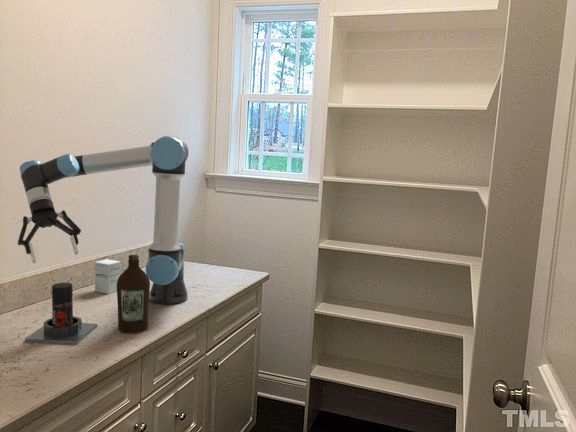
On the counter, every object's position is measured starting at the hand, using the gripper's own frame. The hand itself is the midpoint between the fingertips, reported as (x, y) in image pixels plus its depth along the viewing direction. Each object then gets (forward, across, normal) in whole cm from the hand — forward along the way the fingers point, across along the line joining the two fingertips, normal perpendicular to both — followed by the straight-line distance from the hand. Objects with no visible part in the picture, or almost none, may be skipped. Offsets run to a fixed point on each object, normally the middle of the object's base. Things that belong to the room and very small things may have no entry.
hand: (56, 257), depth 174 cm
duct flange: (+26, +5, +2) cm, 27 cm away
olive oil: (+32, -16, +6) cm, 36 cm away
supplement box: (+8, -22, -34) cm, 42 cm away
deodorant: (+26, +4, +2) cm, 26 cm away
